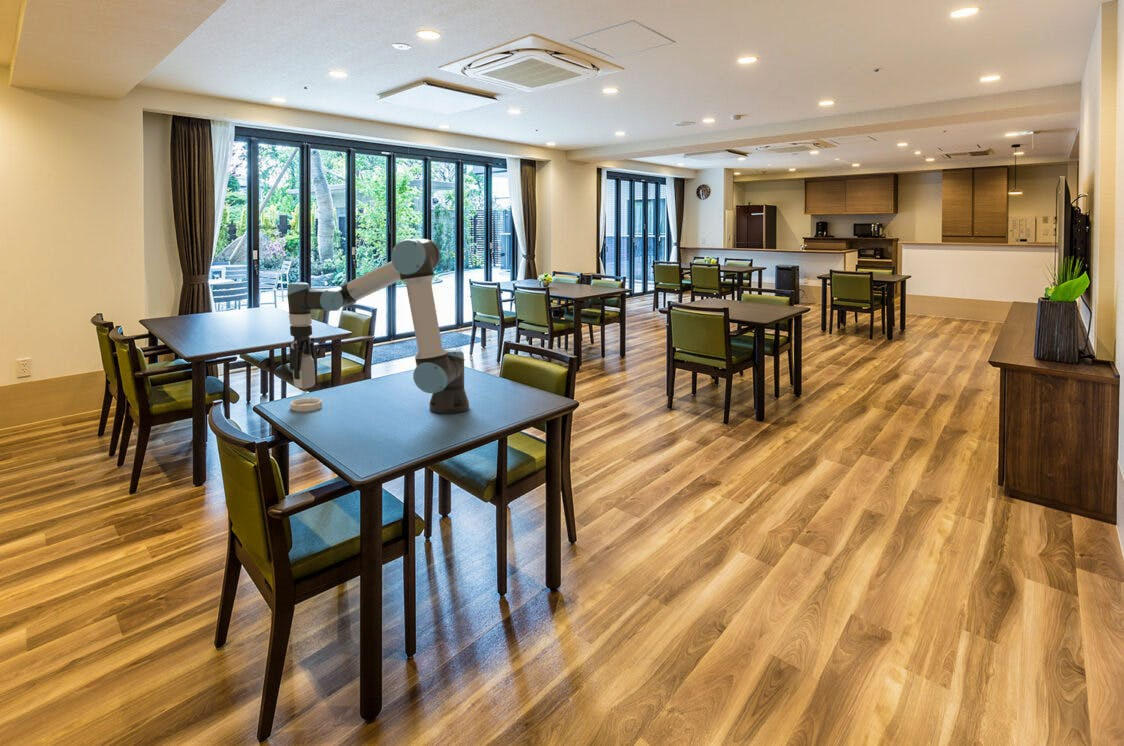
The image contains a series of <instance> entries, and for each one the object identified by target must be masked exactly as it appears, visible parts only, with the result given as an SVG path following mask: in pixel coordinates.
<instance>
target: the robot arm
mask: <svg viewBox="0 0 1124 746" xmlns="http://www.w3.org/2000/svg"><path fill="white" fill-rule="evenodd" d="M439 249H440V248H439V247H438V245H437V244H436V243H435V242H434V241H431V240H430V239H427V238H407V239H402V240H400V241H398V242H397V243H396V244H395V245H394V247H393V248H392V251H391V261H389V262H386V263H385V264H383V265H381V266H379V267H377V268H375V269H373V270H370V271H368V272H367V273H365V274H362V275H361V276H359V277H356V278H355V279H352V280H350V281H348V282H346V283H344V284H342V285H340V286H337V287H330V288H325V289H316V288H314V289H313V288H310V284H309V283H307V282H290V283H288V284H287V295H286V296H287V302H288V303H287V304H288V318H289V324H290V326H289V332H290V334H289V335H290V336H291V337H293V342H290V343H288V347H289V370H290V371H292V372H293V371H294V380H295V386H294V388H296V389H304V388H303V380H302V370H300V368H301V361H302V354H306V355H312V356H311V357H312V358H313V359H314V366H316V365H317V356H316V347H315V338H314V337H310V336H312V335H313V326H312V310H315V311H327V312H335V311H340V310H341V308H343V307H349V306H352V305H354V304H355V303H356V302H357V301H360V300H361V299H364V298H365V297H368V296H370V295H372V294H374V293H376V292H377V291H381V290H382V289H384V288H386V287H388V286H391V285H393V284H395V283H397V282H399V281H401V283H404V284H405V286H406V290H407V292H406V293H407V296H408V302H409V307H410V308H409V309H410V314H411V318H412V324H413V330H414V335H415V340H416V346H417V353H416V354H415V356H414V360H415V366H416V367H415V369H414V371H413V374H412V377H413V378H412V379H413V382H414V384H415V385H416V386H417V388H418V389H419V390H421V391H422V392H424V393H427V394H431V396H430V397H431V398H430V401H429V410H430V411H431V412H433V413H435V412H436V413H435V414H442V413H445V414H447V413H453V414H458V413H457V412H460V413H464V412H466V410H467V409H468V408H469V409H470V401H469V398H468V395H467V393H466V389H465V354H464V352H463V351H462V350H458V349H445V348H443V344H442V339H441V338H442V337H441V334H440V333H441V331H440V326H439V322H438V316H437V315H438V314H437V310H436V303H435V297H434V292H433V291H434V290H433V287H432V285H433V284H432V280H433V279H434V277H435V273H434V272H435V271H434V269H435V268H436V267H438V264H439V262H440V259H441V253H440V250H439ZM294 380H293V381H294ZM469 409H468V410H469ZM468 410H467V411H468ZM463 411H464V412H463ZM445 414H444V415H445Z"/></svg>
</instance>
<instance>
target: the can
mask: <svg viewBox="0 0 1124 746" xmlns="http://www.w3.org/2000/svg"><path fill="white" fill-rule="evenodd" d="M311 356H312V355H306V354H302V361H301V368H300V370H302V380H303V388H302V389H309V388H313V387H314V385H315V384H316V374H315V365H314V359H313V358H312V357H311ZM292 377H293V379H292V380H293V386H294V387H295V380H294V371H292Z"/></svg>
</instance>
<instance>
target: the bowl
mask: <svg viewBox="0 0 1124 746" xmlns="http://www.w3.org/2000/svg"><path fill="white" fill-rule="evenodd" d="M322 408H323V400H322V398H317V397H304V398H303V397H301V398H297V399H293V400H291V401H290V410H291V411H292V412H298V413H304V412H305V413H306V412H314V411H318V410H320V409H322Z"/></svg>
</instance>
